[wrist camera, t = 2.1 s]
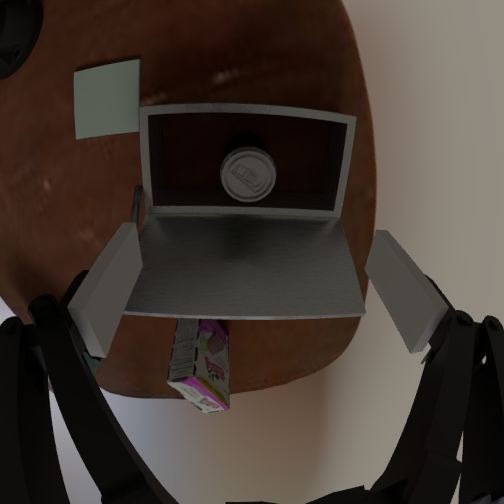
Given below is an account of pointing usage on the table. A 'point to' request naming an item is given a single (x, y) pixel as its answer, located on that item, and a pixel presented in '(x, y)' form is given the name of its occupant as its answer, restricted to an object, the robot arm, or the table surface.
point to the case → (244, 236)
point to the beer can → (247, 168)
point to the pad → (107, 99)
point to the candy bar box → (201, 364)
